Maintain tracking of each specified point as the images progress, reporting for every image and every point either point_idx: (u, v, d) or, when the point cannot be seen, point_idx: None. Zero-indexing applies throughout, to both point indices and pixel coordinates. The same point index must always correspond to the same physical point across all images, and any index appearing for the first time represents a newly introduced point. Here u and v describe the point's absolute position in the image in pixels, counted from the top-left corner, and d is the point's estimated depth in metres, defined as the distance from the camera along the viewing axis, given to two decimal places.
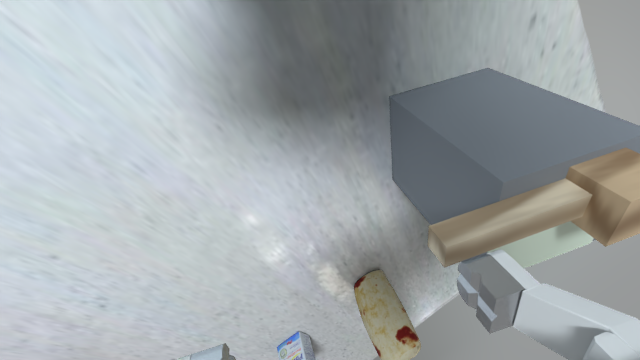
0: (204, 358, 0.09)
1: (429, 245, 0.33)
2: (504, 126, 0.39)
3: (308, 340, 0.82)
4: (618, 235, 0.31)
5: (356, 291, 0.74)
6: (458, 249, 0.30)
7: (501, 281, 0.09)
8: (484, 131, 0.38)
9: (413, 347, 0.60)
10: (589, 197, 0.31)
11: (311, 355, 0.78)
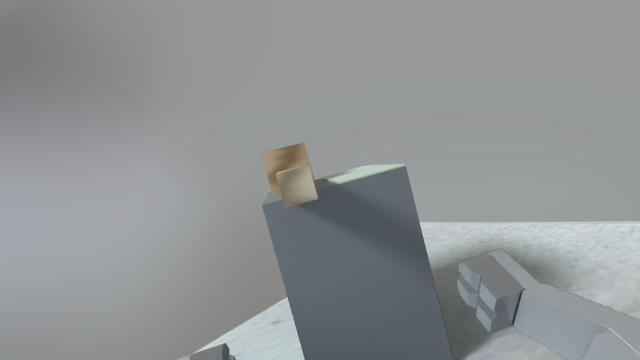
0: (204, 358, 0.09)
1: (313, 196, 0.27)
2: None
3: None
4: None
5: None
6: (285, 171, 0.28)
7: (501, 281, 0.09)
8: None
9: None
10: (279, 171, 0.43)
11: None
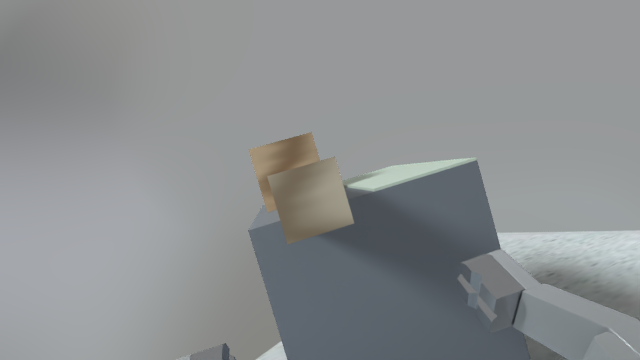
0: (204, 358, 0.09)
1: (343, 218, 0.14)
2: None
3: None
4: None
5: None
6: None
7: (501, 282, 0.09)
8: None
9: None
10: None
11: None
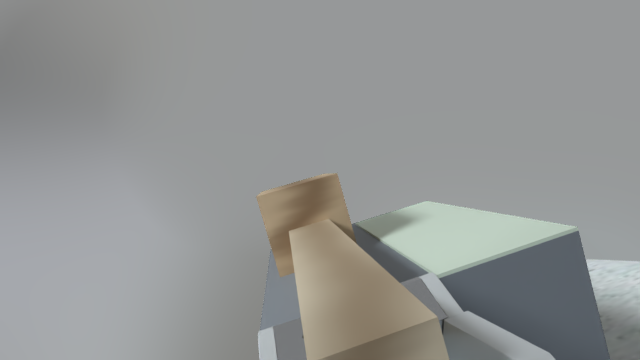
0: (288, 329, 0.09)
1: None
2: None
3: None
4: (320, 177, 0.24)
5: None
6: (337, 321, 0.08)
7: None
8: None
9: None
10: (292, 230, 0.22)
11: None
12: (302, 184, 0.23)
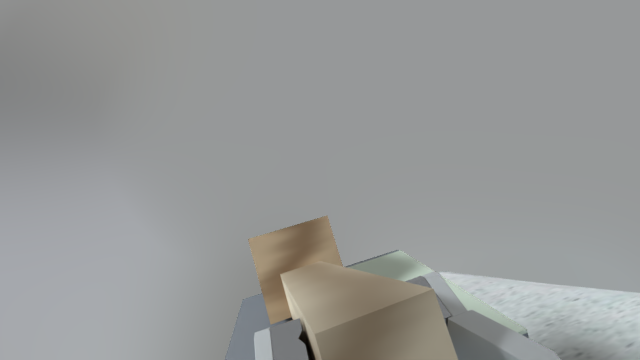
0: (284, 330, 0.09)
1: None
2: None
3: None
4: None
5: None
6: (339, 308, 0.08)
7: None
8: None
9: None
10: (283, 273, 0.22)
11: None
12: (293, 226, 0.23)
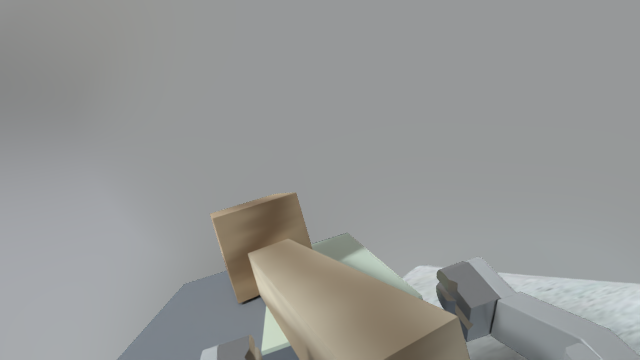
0: (231, 348, 0.09)
1: None
2: None
3: None
4: (278, 197, 0.24)
5: None
6: (360, 333, 0.08)
7: (477, 290, 0.09)
8: None
9: None
10: (251, 252, 0.21)
11: None
12: (261, 204, 0.22)
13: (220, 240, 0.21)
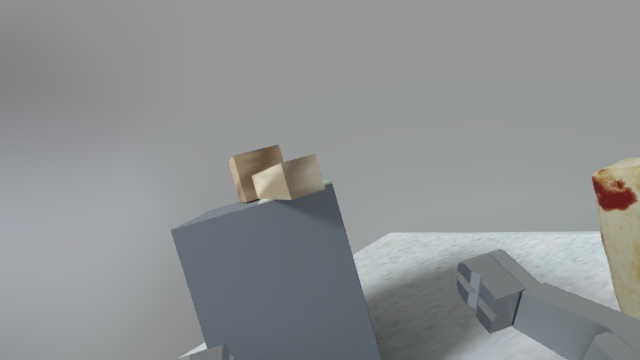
0: (204, 358, 0.09)
1: (319, 186, 0.26)
2: None
3: None
4: None
5: None
6: None
7: (501, 281, 0.09)
8: None
9: (605, 169, 0.30)
10: (253, 175, 0.40)
11: None
12: (259, 150, 0.40)
13: (237, 167, 0.39)
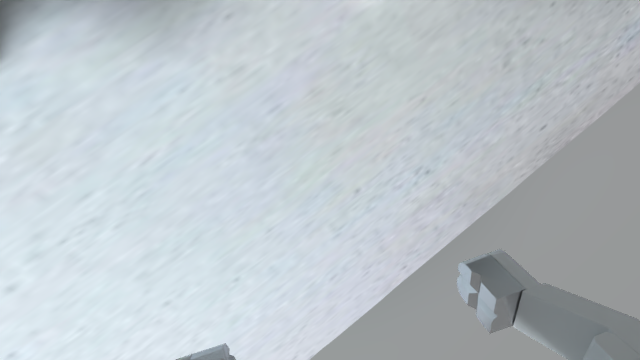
0: (204, 358, 0.09)
1: None
2: None
3: None
4: None
5: None
6: None
7: (501, 281, 0.09)
8: None
9: None
10: None
11: None
12: None
13: None
